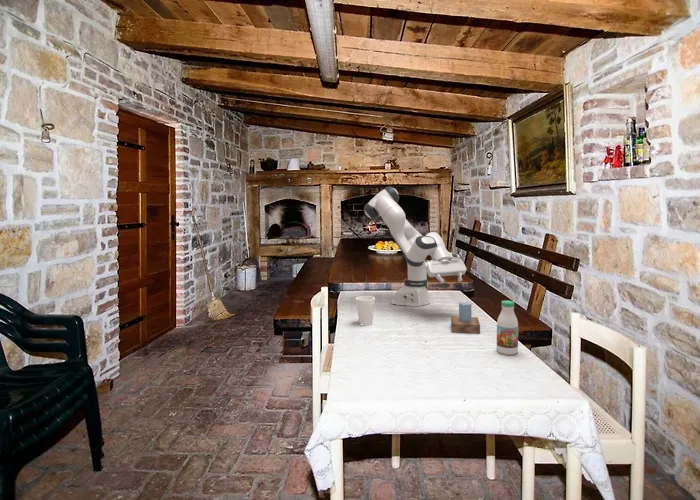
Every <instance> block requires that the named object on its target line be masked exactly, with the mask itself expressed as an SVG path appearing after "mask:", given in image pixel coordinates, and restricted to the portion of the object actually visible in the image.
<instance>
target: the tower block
mask: <svg viewBox="0 0 700 500" xmlns="http://www.w3.org/2000/svg"><path fill="white" fill-rule="evenodd" d="M458 317H459V320H460V321H462V322H470V321H471V317H472V304H471V303H469V302H467V301H465V302H459V303H458Z"/></svg>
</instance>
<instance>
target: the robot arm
mask: <svg viewBox="0 0 700 500" xmlns="http://www.w3.org/2000/svg"><path fill="white" fill-rule="evenodd" d="M399 200H400V195H399V192H398V190H397V189H396V188H394V187H392V186H390V185H389V186H386V187H384V189H382V190H381V191H379V192H378V193H377V194H375V196H374V197H373V198H372V199H370V200H369V202H367V203H366V204H365V205H364V206H363V211H364V214H365V216H367V218H369V219H371V220H372V221H373V220H376V219H377V220H378V219H379V218H380V217H381V219H382V220H383V222H384V224H386V226H387V228H388V229H389V233H390V236H391V238H392V239H393V240H394V242H395V243H396V245H397V247H398V248H399V250H400V251H401V253H402V255H403V256H404V259H405V262H406V263H407V278H404V279H403V283H404V285H403V286H402V287H400V288H399V289H398V290H397V291H396V292H395V295H394V298H392V299H391V303H390V304H392V305H393V304H396V305H395V306H404V305H405V307H416V308H417V307H421V306H427V305H429V304H430V302H431V301H430V298H429V292H428V288H429V285H428V284H429V281H428V277H429V278H436V279H437V281H439V282H440V284H444V283H446V281H445V278H442V277H448V276H457V280H456V281H457V282H462V281H463V278H462V275H465V274H466V272H467V266H466V264H465V262H464V261H463V260H462V258H460V257H461V256H460V255H459V254H457V253H453V252H451V251H448V249H447V248H446V244H445V241H444V240H443V238H442V237H441V236H440V234H439V233H438V232H435V231H433V232H428V233H427V234H425V235H422V234H421V233H420V231H418V230H417V229H416V228H415V227H414V226H413V225H412V224H411V223H410V222H409V221H408V219H406V213H405V211H404V210H403V208H402V207H401V206H400V205H399V203H398V202H399ZM428 256H430V257H431V259H429V260H427V257H428Z"/></svg>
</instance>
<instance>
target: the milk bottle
mask: <svg viewBox="0 0 700 500" xmlns="http://www.w3.org/2000/svg"><path fill="white" fill-rule="evenodd" d="M496 322H497V323H496V351H497V352H498V353H499V354H501V355H505V356H507V355H508V356H512V355H513V356H514V355H517V354H518V352H519V322H518V318H517V316H516V314H515V302H514V301H513V300H501V310H500V314H499V315H498V317H497V321H496ZM516 353H517V354H516Z"/></svg>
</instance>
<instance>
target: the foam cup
mask: <svg viewBox="0 0 700 500" xmlns="http://www.w3.org/2000/svg"><path fill="white" fill-rule="evenodd" d="M355 304H356V310H357V311H356V312H357V317H358V321H359V325H360V324H363V325H369V324H372V325H373V319H374V311H375V310H374V309H375V304H376V297H375V296H371V295H360V296H356V297H355ZM363 325H362V326H363ZM369 326H370V325H369Z"/></svg>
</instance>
